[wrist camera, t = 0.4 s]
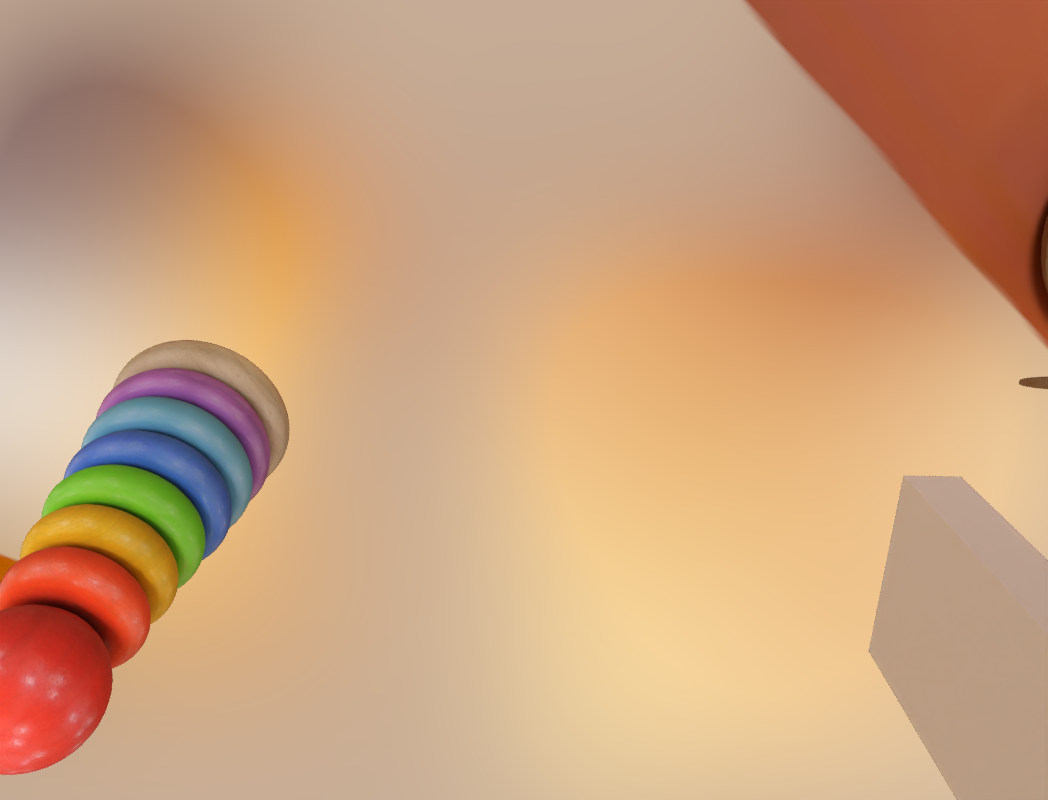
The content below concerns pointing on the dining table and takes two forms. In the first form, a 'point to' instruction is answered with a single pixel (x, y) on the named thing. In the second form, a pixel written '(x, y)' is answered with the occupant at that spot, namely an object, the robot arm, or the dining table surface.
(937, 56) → the dining table surface
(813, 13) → the dining table surface
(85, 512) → the stacking toy
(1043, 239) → the place setting
